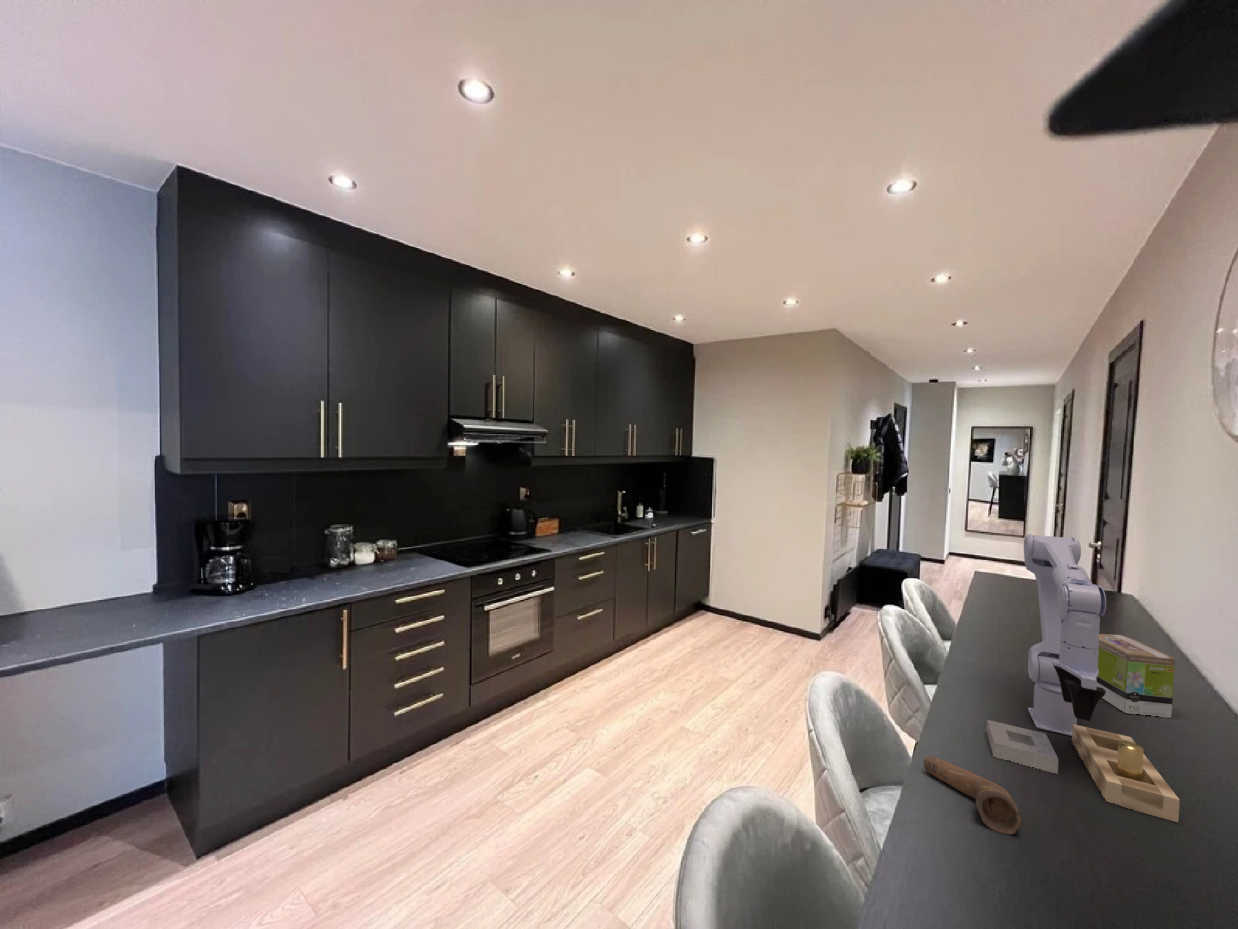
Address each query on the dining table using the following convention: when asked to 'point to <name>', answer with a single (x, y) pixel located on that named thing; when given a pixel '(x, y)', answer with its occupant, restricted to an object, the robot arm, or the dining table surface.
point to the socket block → (1022, 746)
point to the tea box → (1135, 676)
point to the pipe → (979, 794)
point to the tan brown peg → (1130, 760)
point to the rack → (1128, 793)
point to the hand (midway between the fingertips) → (1076, 710)
